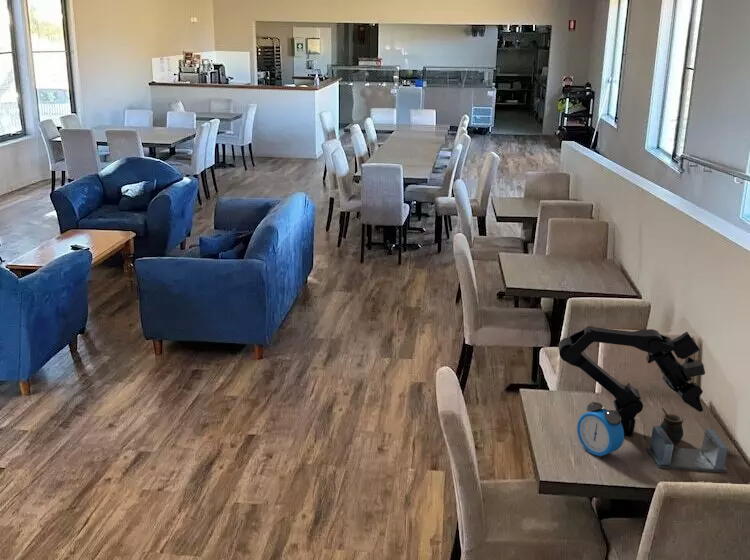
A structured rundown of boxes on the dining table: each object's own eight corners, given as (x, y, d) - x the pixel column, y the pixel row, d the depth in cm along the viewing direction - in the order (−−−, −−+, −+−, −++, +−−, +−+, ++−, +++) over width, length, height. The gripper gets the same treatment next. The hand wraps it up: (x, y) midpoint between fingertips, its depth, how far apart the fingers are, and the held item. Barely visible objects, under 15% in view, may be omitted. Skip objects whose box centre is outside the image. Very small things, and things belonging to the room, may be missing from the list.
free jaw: (661, 464, 219) (665, 444, 217) (649, 445, 229) (653, 425, 227) (670, 465, 219) (674, 444, 217) (657, 445, 229) (661, 426, 227)
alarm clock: (573, 444, 230) (580, 400, 225) (587, 439, 233) (593, 395, 229) (608, 464, 220) (615, 418, 215) (621, 459, 223) (629, 413, 219)
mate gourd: (679, 448, 231) (684, 419, 228) (654, 441, 235) (658, 412, 232) (683, 439, 237) (689, 410, 234) (659, 432, 241) (663, 404, 238)
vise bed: (658, 468, 219) (663, 444, 217) (646, 448, 230) (650, 425, 227) (727, 472, 219) (732, 448, 217) (712, 453, 230) (717, 429, 227)
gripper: (704, 361, 220) (731, 402, 223) (681, 343, 239) (707, 381, 241) (670, 381, 222) (698, 422, 224) (651, 362, 240) (677, 400, 243)
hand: (696, 405), depth 233 cm, fingers open, 9 cm apart
